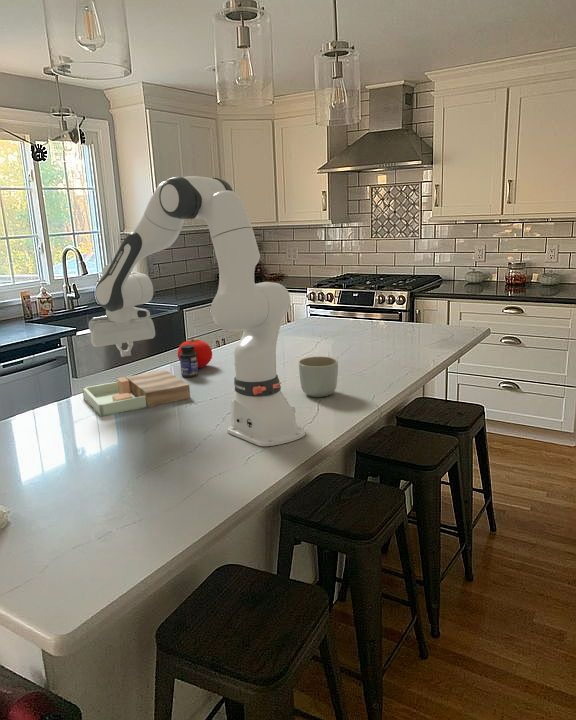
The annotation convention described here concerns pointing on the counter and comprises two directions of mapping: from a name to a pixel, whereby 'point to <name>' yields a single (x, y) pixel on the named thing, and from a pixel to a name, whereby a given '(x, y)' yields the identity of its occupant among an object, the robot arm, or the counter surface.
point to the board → (158, 387)
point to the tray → (110, 399)
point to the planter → (318, 375)
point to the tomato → (199, 351)
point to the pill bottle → (188, 361)
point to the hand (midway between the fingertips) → (126, 355)
